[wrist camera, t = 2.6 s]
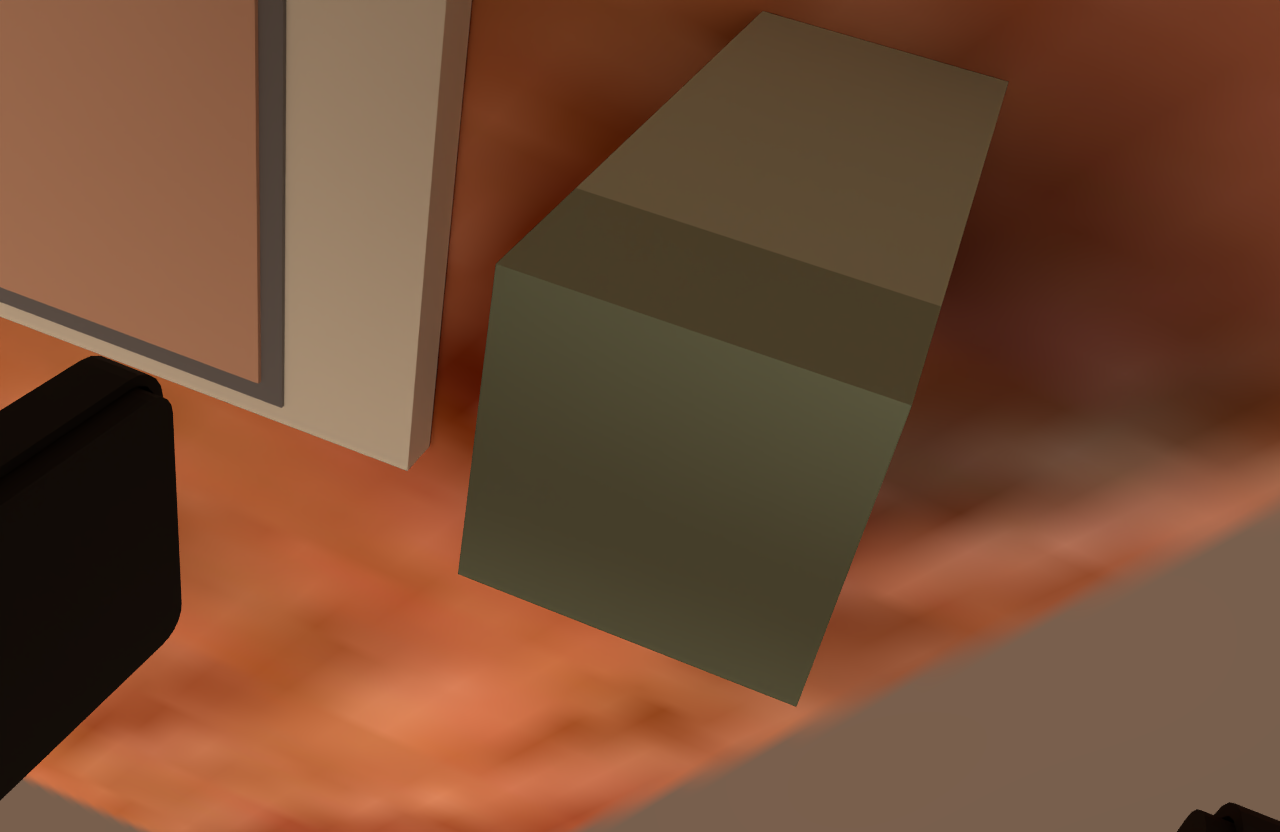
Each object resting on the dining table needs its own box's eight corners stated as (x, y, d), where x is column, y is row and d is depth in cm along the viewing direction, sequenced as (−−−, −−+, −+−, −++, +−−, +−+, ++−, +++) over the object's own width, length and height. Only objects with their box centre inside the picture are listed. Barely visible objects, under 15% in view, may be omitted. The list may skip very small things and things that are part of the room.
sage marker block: (762, 11, 19) (497, 263, 11) (1008, 81, 18) (911, 405, 10) (709, 233, 21) (458, 574, 13) (926, 303, 21) (796, 706, 13)
